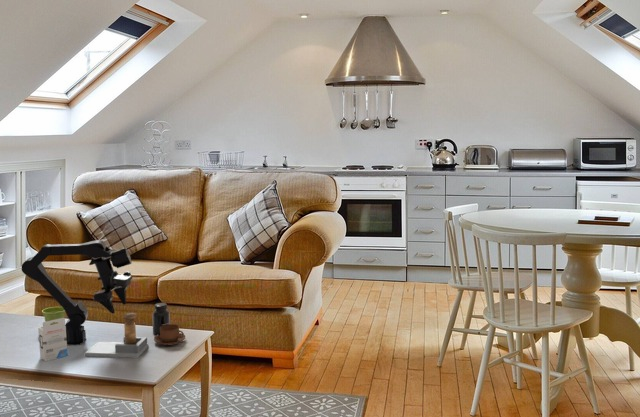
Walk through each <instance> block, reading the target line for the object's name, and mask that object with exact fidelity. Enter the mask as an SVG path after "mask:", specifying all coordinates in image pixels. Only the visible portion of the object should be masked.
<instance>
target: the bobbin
mask: <svg viewBox="0 0 640 417" xmlns="http://www.w3.org/2000/svg"><path fill="white" fill-rule="evenodd" d="M136 318H137V314H136V313H135V312H134V313H133V312H130V313H129V312H127V313H124V314H122V319H123V320H124V321H125V322H124V324H123V325H124V326H123V327H124V337H125V343H127V344H132V345H136V344H135V342H136V337H137V332H136V322H135V319H136Z"/></svg>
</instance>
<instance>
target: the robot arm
mask: <svg viewBox="0 0 640 417" xmlns="http://www.w3.org/2000/svg"><path fill="white" fill-rule="evenodd" d="M71 255H72V256H77V255H81V256H85V257H91V259H90V262H89V263H88V265H89V266H93V265H95V266H94V267H95V269H96V270H97V273H98V274H97V275H98V277H97V280H98V281H100V283H101V284H102V286H100V289H101V290H98V291H97V292H95V293H93V296H92V299H93V301H94V302H95V303H96V302H97V303H99V304H101V306H102V307H104V308H106V310H107V311H108V312H110V313H111V314H115V307H114V304H113V298H114V295H113V291H114V292H115V294H116V296H117V297H118V299H119V300H120V301H121V303H122V304H123V305H126V304H127V289H128V287H129V286H130V285H131V284H132V283H131V281H132V280H133V277H132V274H131V272H130V271H124V273H122V274H119V272H118V271H116V270H114V268H116V269H119V268H122V267H127V266H129V265H132V257H131V255H130V253H129V251H128V250H127V248H126V247H122V248H120V249H118V250H113V249H111V248H110V247H109V246H107V245H106V243H105V242H104V241H103V240H101V239H96V240H91V241H88V242H84V243H73V244H72V243H69V244H68V243H64V244H63V243H62V244H50V243H47V244H44V245H43V246H42V247H41V249H40V250H39V251H38V252H37V253H36V254H35V255H34V256H32V257H29V258H27V259H26V260H25V261H24V262H23V263H22V265H21V272H22V274H24V275H26V276H27V277H28V278H30V279H31V280H32V281H36V282H37V283H39V285H40V286H41V287H42V288H44V290H45V291H46V292H47V293H48V294H49V295H50V296H51V297H52V298H53V299H54V300H55V301H56V302H57V303H58V304H59V306H60V307H63V308H64V310H65V315H66V317H67V319H68V320H67V322H65V326H66V339H67V346H68V345H69V346H71V345H73V346H81V344H83V343H84V342H86V341H87V338H86V337H87V335H86V329H85V325H84V323H86V320H87V319H88V316H89V311H88V309H87V308H88V307H87V306H86V305H85V304H84V303H83V302H82V301H81V300H79V301H78V302H77V301H75V300H73V299H72V298H71V297H70V295H68V294H67V293H66V292H65V291H64V290H63V289H62V288H61V287H60V286H59V284H58V283H57V282H56V281H55V280H54V279H53V278H52V277H51V276H50V275H49V274H48V273H47V270H46V268H45V265H44V264H43V262H44V261H45V260H46V259H47V258H48V257H49V256H71ZM113 267H114V268H113Z"/></svg>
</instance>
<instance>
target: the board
mask: <svg viewBox="0 0 640 417" xmlns="http://www.w3.org/2000/svg"><path fill="white" fill-rule="evenodd" d="M135 344H136V345H132V344H127V343H125V336H123V342H121V341H120V342H118V341H117V342H115V341H114V342H112V341H111V342H110V341H97V342H96V343H95V344H94V345H93V346H91V347H90V348H89V349H88V350H86V351H85V352H84V356H85V357H105V358H106V357H110V358H139V357H140V356H141V355H142V354H143V353H144V352H145V351H146V349H148V347H149V346H150V344H149V343H148V337H147V336H136V342H135Z"/></svg>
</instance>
